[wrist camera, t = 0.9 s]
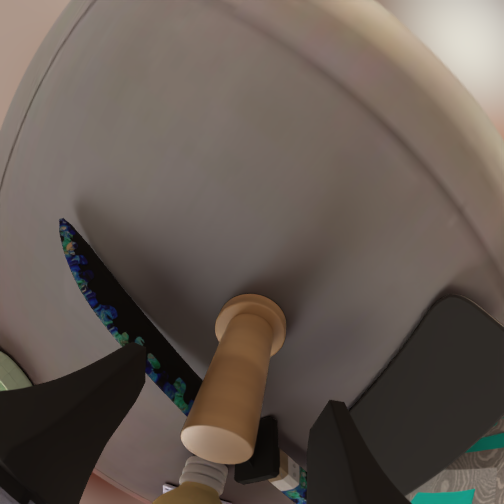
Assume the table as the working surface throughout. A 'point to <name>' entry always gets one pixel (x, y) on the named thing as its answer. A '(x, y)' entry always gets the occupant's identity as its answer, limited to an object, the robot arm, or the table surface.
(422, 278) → the table surface
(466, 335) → the smartphone
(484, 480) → the sculpture
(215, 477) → the light bulb
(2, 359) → the bowl
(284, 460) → the knife
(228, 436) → the pestle
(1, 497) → the robot arm
